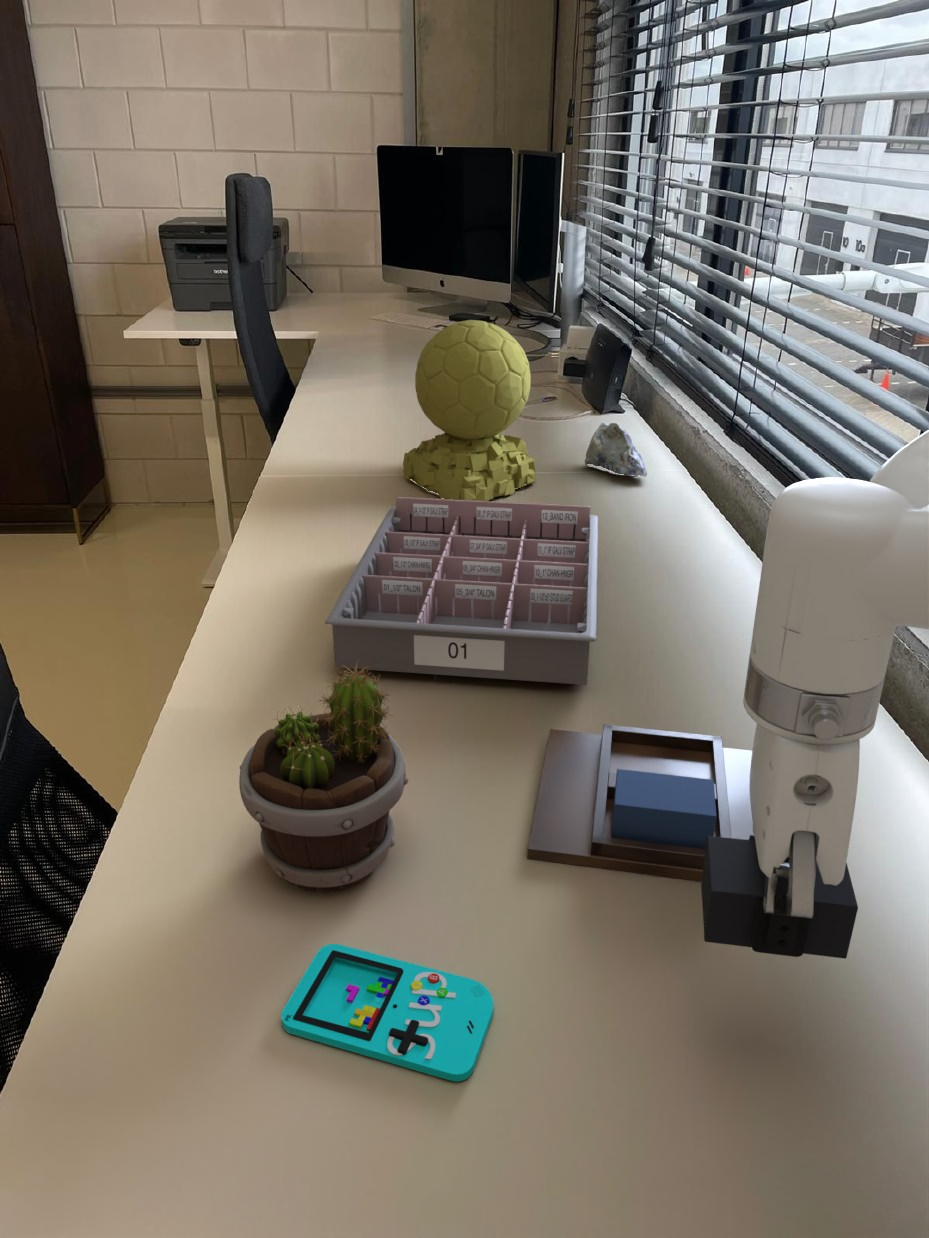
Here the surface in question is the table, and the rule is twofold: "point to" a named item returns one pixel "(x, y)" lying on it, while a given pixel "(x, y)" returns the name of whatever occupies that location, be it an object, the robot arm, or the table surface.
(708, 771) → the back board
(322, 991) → the handheld gaming console
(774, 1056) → the table surface
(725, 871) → the black rectangular block
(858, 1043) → the table surface
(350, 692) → the flowerpot
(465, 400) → the trophy
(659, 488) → the table surface
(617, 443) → the mineral rock
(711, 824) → the blue block
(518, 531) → the organizer tray
